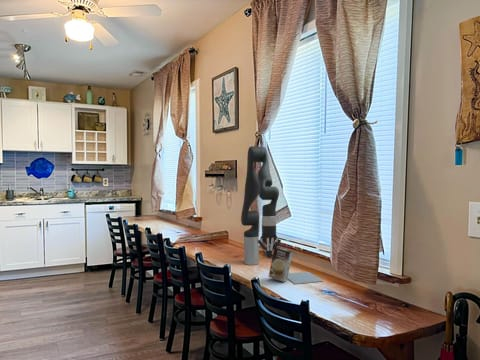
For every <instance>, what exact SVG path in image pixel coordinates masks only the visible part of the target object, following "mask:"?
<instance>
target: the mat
mask: <svg viewBox="0 0 480 360" xmlns="http://www.w3.org/2000/svg"><path fill="white" fill-rule="evenodd" d="M287 281H288V282H289V281H290V282H291V283H292V285H293V284H294V285H301V284H302V285H304V284H313V283H322V282H324V280H322V279H321V278H319V277H317V275H314V274H313V273H311V272H309V271H302V272H301V271H300V272H292V273H291V272H289V273H288V278H287Z"/></svg>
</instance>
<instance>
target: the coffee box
mask: <svg viewBox="0 0 480 360" xmlns="http://www.w3.org/2000/svg"><path fill="white" fill-rule="evenodd" d="M293 253H294V251H293V250H291V249H288V248H285V247H281V246H277V247H276V249H274V250H273V251H272V257H271V258H272V259H271V262H270V267H269V272H268V278H271V279H274V280H277V281H280V282H283V283H284V282H286V281H288V279H287V278H288V273H290V272H289V271H290V269H291V268H290V267H291V263H292V258H293Z"/></svg>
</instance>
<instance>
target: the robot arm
mask: <svg viewBox="0 0 480 360" xmlns="http://www.w3.org/2000/svg"><path fill="white" fill-rule="evenodd" d="M246 160H247V163H246V164H247V165H246V176H245V183H244V195H243V205H242V210H241V215H240V222H241V225H242V226H244V227H245V226H246V227H247V226H251V227H250V228H249V229H246V230H245V231H243V258H244V259H243V260H244V261H243V263H244V265H247V266H255V265H259V263H260V260H259V259H260V251H259V246H260V247H261V248H262V250H264V251H265V255H266V257H267V259H271V258H272V257H273V251H274V249H276V247H279V245H280V243H281V242H282V240H281V239H279V238H278V235H277V216H276V215H277V214H276V213H277V211H276V209H277V208H276V207H277V204H278V203H277V202H278V201H279V196H280V190H279V188H278V187H277V186H273V180H272V176H271V171H270V161H269V154H268V150H267V147H265V146H258V145H257V146H256V145H255V146H253V145H252V146H249V148H248V150H247V159H246ZM254 163H262V165H261V166H260V168H259V170H258V171H257V172H256V170H255V167H254ZM258 197H259V198H260V200H263V201H270V202H269V203H266V204H263V205H262V208H261V209H262V212H261V215H262V217H261V235H260V238H259V232H260V231H259V230H260V213H259V211H258V210H251V209H250V208H251V206H252V205H253V203H254V202H255V201H256V199H257V198H258Z"/></svg>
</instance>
